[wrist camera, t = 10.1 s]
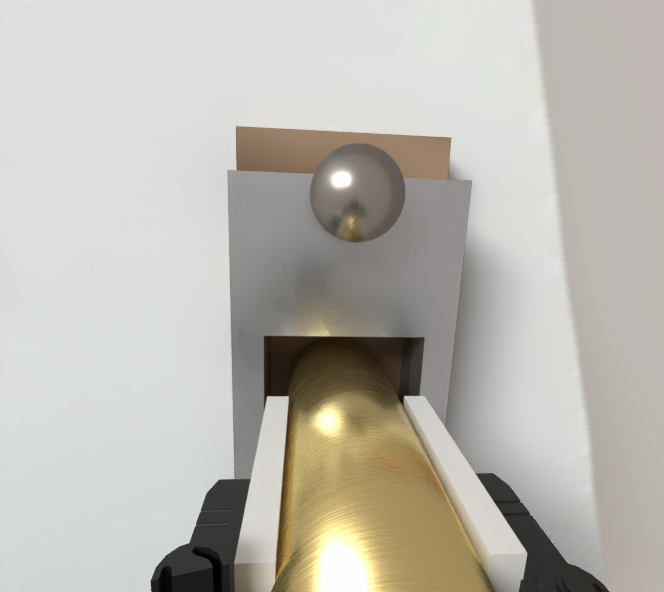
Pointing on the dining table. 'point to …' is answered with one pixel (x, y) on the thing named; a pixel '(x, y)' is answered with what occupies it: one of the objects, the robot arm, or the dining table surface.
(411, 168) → the walnut board
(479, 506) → the robot arm
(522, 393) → the dining table surface
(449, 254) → the grey slotted fixture
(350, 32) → the dining table surface
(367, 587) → the brass pin
